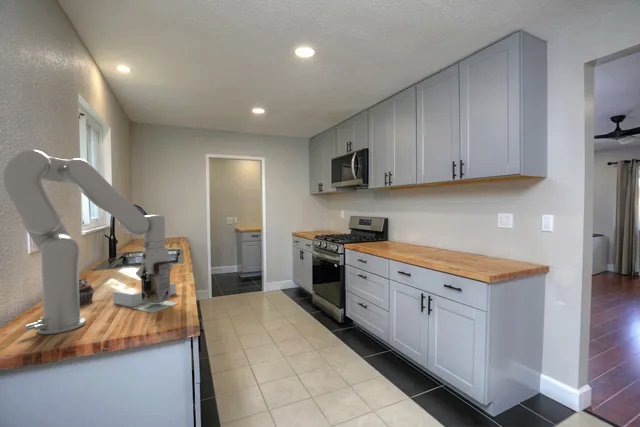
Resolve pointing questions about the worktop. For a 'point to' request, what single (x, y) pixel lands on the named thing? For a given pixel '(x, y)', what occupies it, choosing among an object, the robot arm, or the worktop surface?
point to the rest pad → (155, 306)
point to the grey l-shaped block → (134, 297)
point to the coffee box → (158, 284)
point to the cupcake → (85, 291)
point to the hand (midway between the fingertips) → (155, 287)
